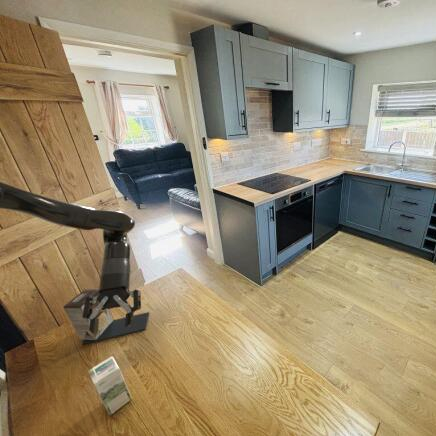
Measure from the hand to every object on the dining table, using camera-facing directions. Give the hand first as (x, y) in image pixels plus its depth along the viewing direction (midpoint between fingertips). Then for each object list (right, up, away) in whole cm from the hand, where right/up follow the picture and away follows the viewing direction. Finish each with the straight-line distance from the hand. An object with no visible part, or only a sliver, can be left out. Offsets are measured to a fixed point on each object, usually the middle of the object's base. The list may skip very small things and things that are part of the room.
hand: (111, 329), depth 69 cm
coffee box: (-22, -10, +22) cm, 32 cm away
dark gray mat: (-15, -10, +23) cm, 29 cm away
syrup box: (+2, -21, 0) cm, 21 cm away
